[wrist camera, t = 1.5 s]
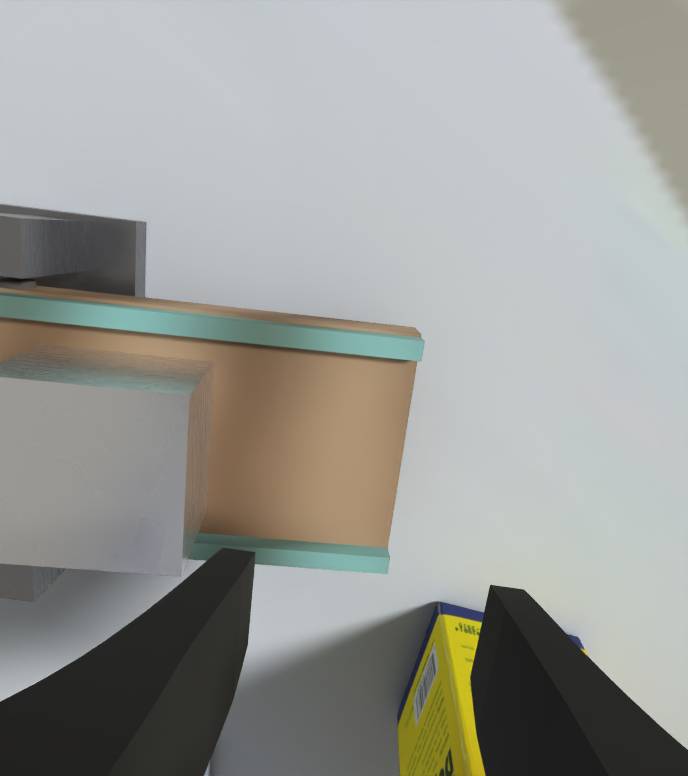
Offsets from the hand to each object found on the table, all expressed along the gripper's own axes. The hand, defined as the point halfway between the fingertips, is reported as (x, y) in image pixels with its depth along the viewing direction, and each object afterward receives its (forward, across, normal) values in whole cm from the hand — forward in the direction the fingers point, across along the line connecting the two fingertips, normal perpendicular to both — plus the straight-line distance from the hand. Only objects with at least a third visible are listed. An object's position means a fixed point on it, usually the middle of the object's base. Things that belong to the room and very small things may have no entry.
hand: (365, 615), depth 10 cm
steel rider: (+7, +8, 0) cm, 10 cm away
